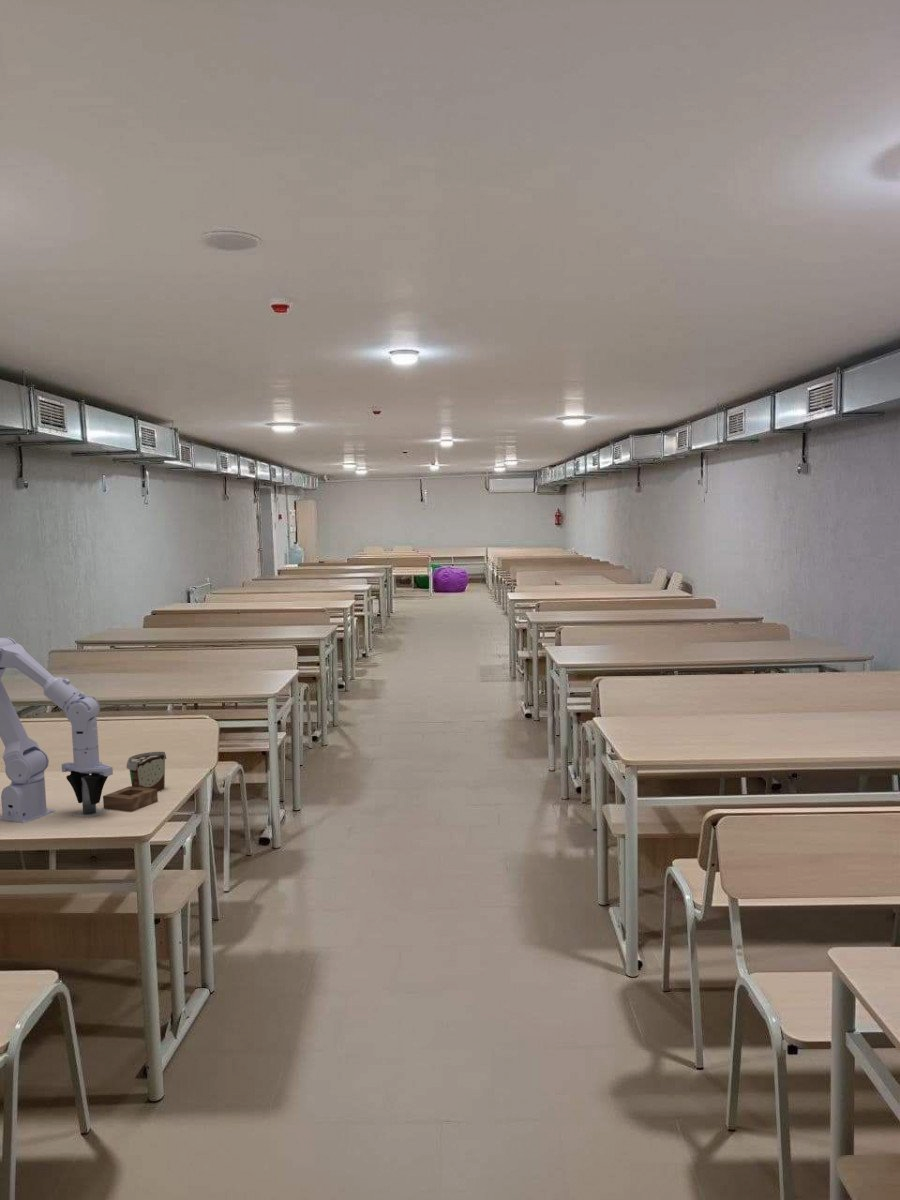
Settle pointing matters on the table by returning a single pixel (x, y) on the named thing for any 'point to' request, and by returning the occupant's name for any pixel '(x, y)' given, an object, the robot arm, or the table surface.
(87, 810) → the peg
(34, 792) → the robot arm
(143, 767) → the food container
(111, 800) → the hole block
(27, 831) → the table surface
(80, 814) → the mat
